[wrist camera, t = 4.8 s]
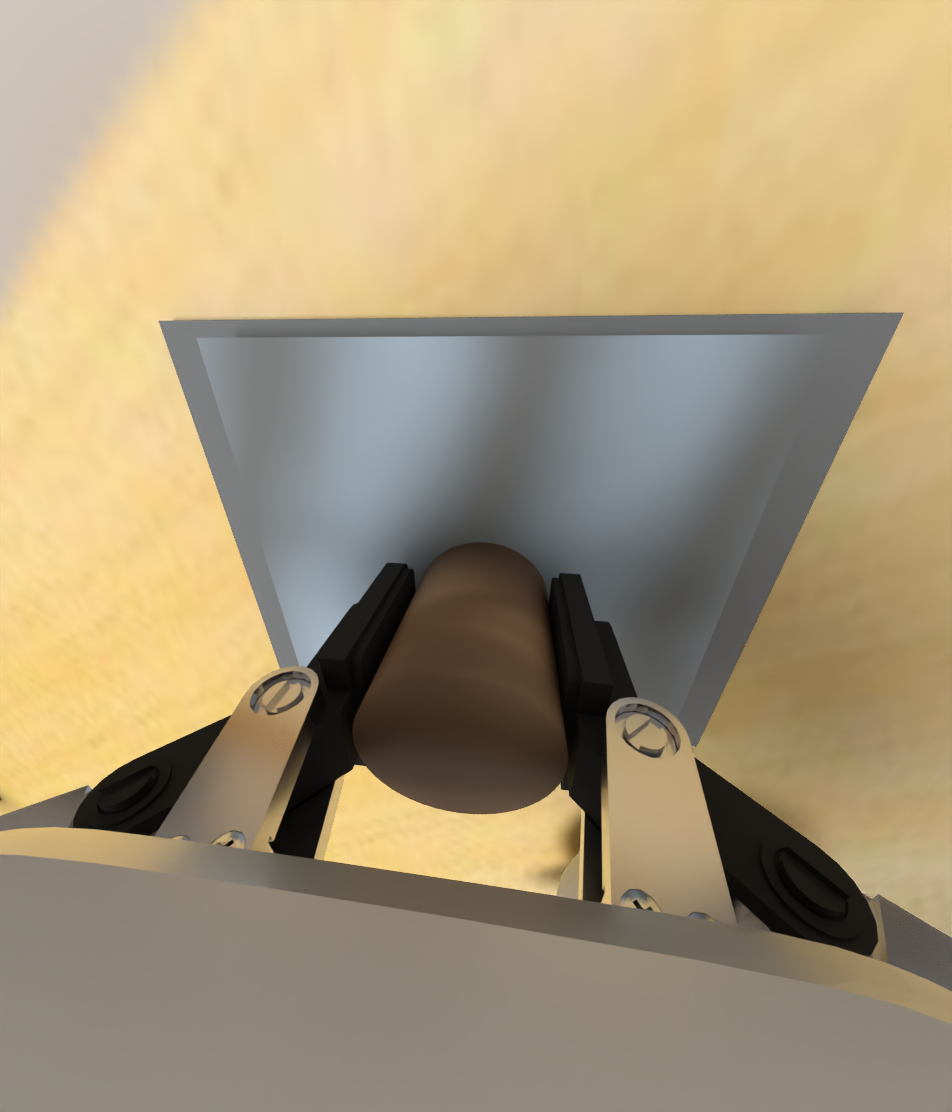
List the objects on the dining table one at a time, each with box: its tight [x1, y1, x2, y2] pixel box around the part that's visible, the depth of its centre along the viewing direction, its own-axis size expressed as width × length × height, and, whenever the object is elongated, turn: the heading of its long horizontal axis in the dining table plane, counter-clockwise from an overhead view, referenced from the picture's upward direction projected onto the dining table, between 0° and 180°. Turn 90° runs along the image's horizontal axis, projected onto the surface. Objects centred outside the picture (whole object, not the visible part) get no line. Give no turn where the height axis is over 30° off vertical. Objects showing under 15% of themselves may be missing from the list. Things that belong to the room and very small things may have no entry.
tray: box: [159, 313, 903, 746], centre depth 12 cm, size 18×15×1 cm
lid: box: [197, 334, 837, 814], centre depth 9 cm, size 14×14×6 cm
